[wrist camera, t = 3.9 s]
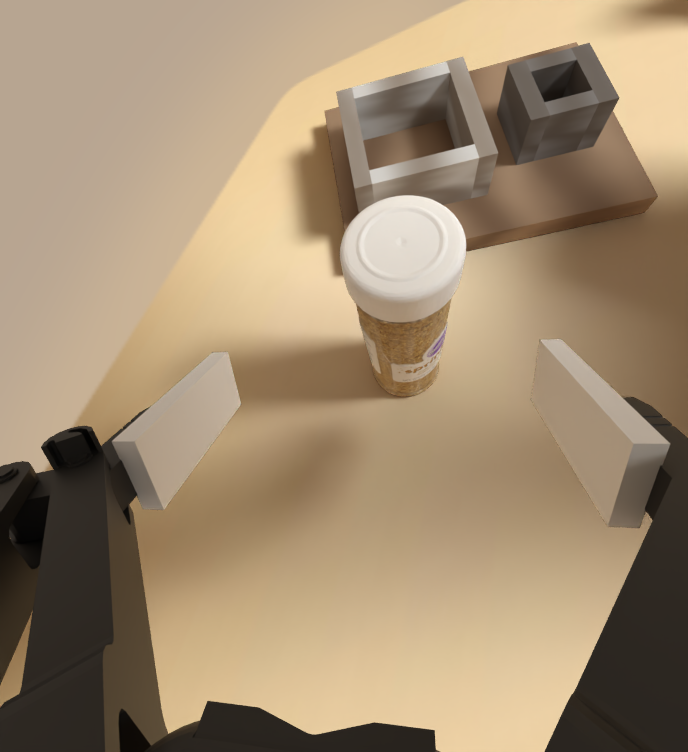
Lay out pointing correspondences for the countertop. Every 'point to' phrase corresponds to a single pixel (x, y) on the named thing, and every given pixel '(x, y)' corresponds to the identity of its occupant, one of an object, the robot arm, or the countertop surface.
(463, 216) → the socket board
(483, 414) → the countertop surface
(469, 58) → the countertop surface
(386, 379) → the sprinkles bottle
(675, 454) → the robot arm
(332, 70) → the countertop surface
